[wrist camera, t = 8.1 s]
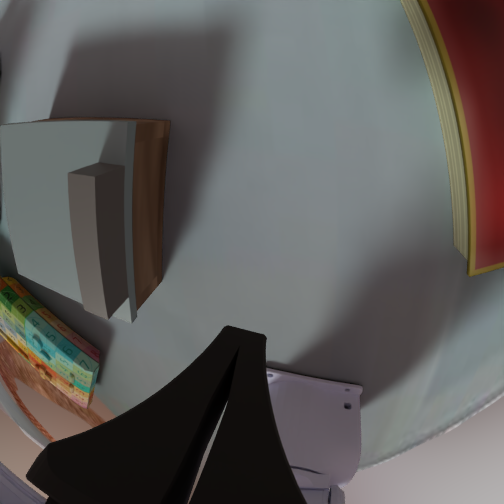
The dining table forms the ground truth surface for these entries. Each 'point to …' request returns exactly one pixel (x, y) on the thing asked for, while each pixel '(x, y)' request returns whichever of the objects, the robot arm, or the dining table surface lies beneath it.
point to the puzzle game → (47, 343)
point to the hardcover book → (469, 116)
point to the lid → (73, 209)
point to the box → (146, 201)
